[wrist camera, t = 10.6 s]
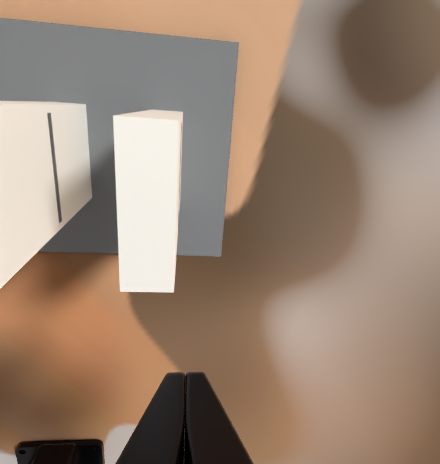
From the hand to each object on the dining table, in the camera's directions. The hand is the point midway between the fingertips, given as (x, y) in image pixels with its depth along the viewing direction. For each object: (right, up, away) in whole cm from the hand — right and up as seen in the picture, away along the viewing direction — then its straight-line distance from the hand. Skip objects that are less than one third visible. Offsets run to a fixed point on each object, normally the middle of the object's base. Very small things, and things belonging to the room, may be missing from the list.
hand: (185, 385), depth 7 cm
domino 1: (-7, +8, +10) cm, 15 cm away
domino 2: (-2, +8, +11) cm, 13 cm away
